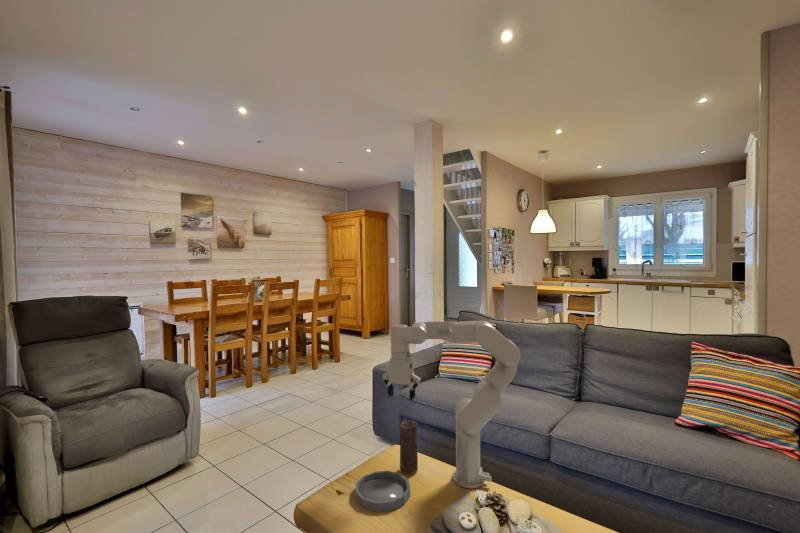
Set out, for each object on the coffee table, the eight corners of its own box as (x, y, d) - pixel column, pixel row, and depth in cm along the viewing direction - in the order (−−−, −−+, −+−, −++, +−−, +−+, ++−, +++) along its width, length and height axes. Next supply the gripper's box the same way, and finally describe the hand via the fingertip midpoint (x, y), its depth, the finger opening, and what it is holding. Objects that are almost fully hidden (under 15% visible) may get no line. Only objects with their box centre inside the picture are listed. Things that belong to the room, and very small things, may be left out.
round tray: (417, 485, 140) (417, 477, 140) (395, 517, 122) (395, 508, 122) (372, 474, 148) (372, 466, 148) (345, 502, 130) (345, 494, 130)
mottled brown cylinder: (416, 477, 146) (415, 427, 146) (398, 475, 147) (398, 426, 148) (418, 467, 153) (418, 419, 154) (401, 465, 155) (401, 418, 155)
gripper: (423, 355, 147) (424, 397, 147) (386, 351, 155) (387, 391, 155) (415, 359, 141) (416, 403, 140) (377, 355, 149) (378, 397, 148)
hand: (401, 397), depth 148 cm, fingers open, 9 cm apart
